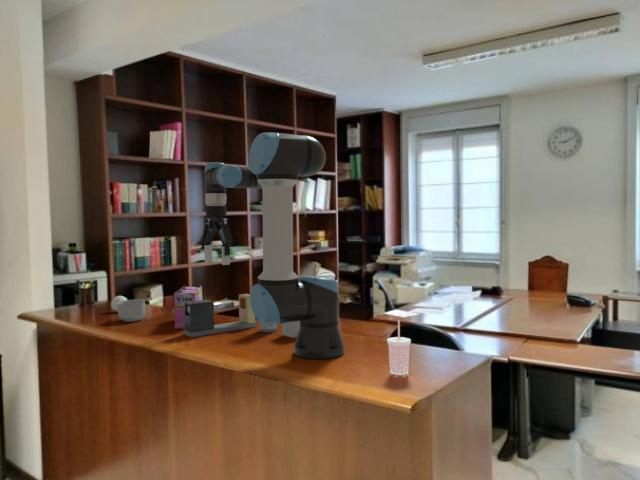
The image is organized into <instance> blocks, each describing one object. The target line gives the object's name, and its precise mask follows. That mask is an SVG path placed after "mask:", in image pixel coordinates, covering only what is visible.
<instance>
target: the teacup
mask: <svg viewBox="0 0 640 480" xmlns="http://www.w3.org/2000/svg"><path fill="white" fill-rule="evenodd" d="M117 305H118V312H117V314H118V317H119V319H120V320H122V321H123V322H126V323H133V322H138V321H141V320H142V319H143V318H144V316H145V314H146V300H145V299H139V298H137V299H136V298H135V299H127V300H126V301H125V300H124V301H121V302H118V303H117Z"/></svg>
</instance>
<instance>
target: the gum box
mask: <svg viewBox="0 0 640 480" xmlns="http://www.w3.org/2000/svg"><path fill="white" fill-rule="evenodd" d="M201 300H203V285H198V287H197V286H188V285H184V286H182V287H181V288H180V289H179V290H177V291H175V292H174V293H173V301H174V302H173V303H174V304H173V305H174V307H173V308H174V329H178V328H180V329H185V319H184V302H192V301H201Z"/></svg>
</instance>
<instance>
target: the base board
mask: <svg viewBox="0 0 640 480" xmlns="http://www.w3.org/2000/svg"><path fill="white" fill-rule="evenodd" d="M252 328H257V322H255V323H251V324H245V323H242V322H239V321H234V322H227V323H226V322H225V323H220V324H214V329H210V330H204V331H197V332H188V331H185V329H183V335H185V336H187V337H191V338H196V336H197V337H202V336H208V335H215V334H219V333H220V334H221V333H227V332H233V331H239V330H246V329H252Z"/></svg>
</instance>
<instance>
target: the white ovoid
mask: <svg viewBox="0 0 640 480" xmlns="http://www.w3.org/2000/svg"><path fill="white" fill-rule="evenodd" d="M124 300H125V301H126V300H128V298H127V297H125V296H123V295H117V296H114V298H112V300H111V301H110V302H111V303H110V305H111V309H112V310H114V311H115V312H116V313H118V305H117V303H118V302H121V301H124Z"/></svg>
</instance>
